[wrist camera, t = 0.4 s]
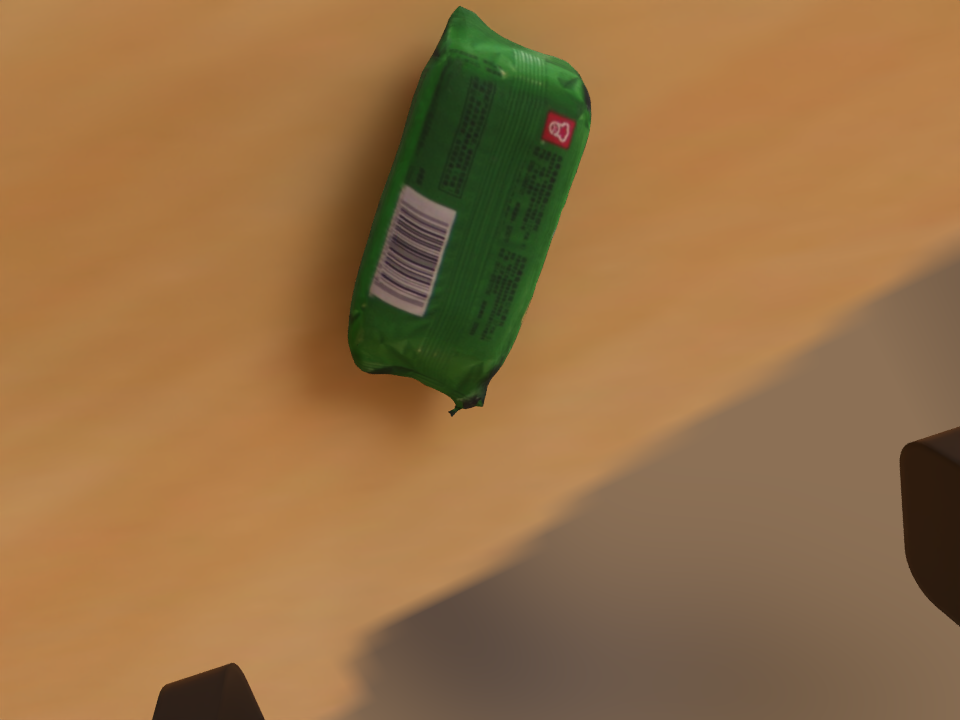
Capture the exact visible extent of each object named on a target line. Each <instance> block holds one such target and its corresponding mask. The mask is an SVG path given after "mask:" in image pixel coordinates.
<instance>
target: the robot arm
mask: <svg viewBox="0 0 960 720" xmlns="http://www.w3.org/2000/svg"><path fill="white" fill-rule="evenodd" d="M900 477H901V493H902V494H901V495H902V511H903V527H904V543H905V554H906V558H907V562H908V565H909V568H910V570H911V573H912V575H913V577H914V579H915V581H916V582H917V584H918V586H919V587H920V589H921V590H922V591H923V593H924V594H925V595H926V597H927V598H928V599H929V600H930V601H931V602H932V603H933V604H934V605H935V606H936V607H937V608H939V609H940V610H941V611H942V612H944V613H945V614H946V615H947V616H948V617H949V618H950V619H952V620H953V621H954V622H955V623H956V624H957V625H959V626H960V427H957V428H954V429H951V430H947V431H944V432H942V433H938V434H935V435H932V436H929V437H926V438H923V439H920V440H917V441H914V442H911V443H908V444H907V445H905V447H904V448H903V449H902V452H901V455H900ZM152 720H265V719H264V717H263V715H262V713H261V711H260V708H259V706H258V704H257V702H256V699H255V697H254V695H253V693H252V691H251V688H250V686H249V684H248V682H247V680H246V678H245V676H244V674H243V672H242V670H241V669H240V668H239V667H238V665H236V664H235V663H230V664H227V665H224V666H221V667H218V668H215V669H212V670H209V671H206V672H203V673H200V674H197V675H194V676H191V677H188V678H185V679H182V680H179V681H175V682H172V683H169V684H167V685H165V686H164V687H163V688H162V690H161V691H160V694H159V697H158V700H157V704H156V708H155V711H154V715H153V719H152Z"/></svg>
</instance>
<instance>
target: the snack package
mask: <svg viewBox="0 0 960 720" xmlns="http://www.w3.org/2000/svg"><path fill="white" fill-rule="evenodd" d="M590 124H591V101H590V97H589V94H588V91H587V88H586V87H585V85H584V83H583V81H582V79H581V77H580V75H579V74H578V72H577V71H576V70H575V69H574V68H573V67H572V66H571V65H570V64H569V63H567V62H566V61H564V60H561V59H559V58H556V57H554V56H550V55H546V54H542V53H539V52H536V51H534V50H531V49H528V48H525V47H523V46H521V45H518V44H516V43H514V42H512V41H509V40H507V39H505V38H503V37H502V36H500V35H499V34H497V33H496V32H494V31H493V30H491V29H490V28H489V27H488V26H487V25H486V24H485V23H484V22H483V21H482V20H481V19H480V18H479V17H478V16H477V15H476V14H475V13H473V12H472V11H470V10H468V9H465V8H463V7H461V6H459V7H458V8H457V9H456V10H455V11H454V12H453V14H452V15H451V17H450V18H449V20H448V23H447V25H446V28H445V30H444V33H443V35H442V37H441V39H440V41H439V43H438V45H437V47H436V49H435V51H434V53H433V55H432V57H431V58H430V60H429V61H428V63H427V65H426V66H425V68H424V70H423V71H422V74H421V77H420V80H419V82H418V85H417V88H416V91H415V94H414V96H413V100H412V103H411V107H410V110H409V114H408V117H407V120H406V123H405V127H404V131H403V134H402V138H401V141H400V145H399V148H398V151H397V153H396V156H395V159H394V162H393V165H392V168H391V171H390V173H389V176H388V179H387V181H386V184H385V187H384V190H383V193H382V195H381V198H380V201H379V205H378V208H377V211H376V214H375V217H374V220H373V223H372V227H371V230H370V234H369V237H368V240H367V244H366V247H365V250H364V253H363V257H362V260H361V264H360V267H359V271H358V275H357V278H356V282H355V287H354V291H353V296H352V301H351V307H350V315H349V326H348V343H349V347H350V351H351V354H352V357H353V360H354V362H355V364H356V365H357V366H358V367H359V368H360V369H361V370H362V371H364V372H367V373H369V374H392V375H398V376H404V377H410V378H414V379H416V380H418V381H420V382H421V383H423V384H424V385H426V386H429V387H432V388H434V389H436V390H438V391H440V392H442V393H444V394H446V395H447V396H449V397H450V398H451V399H452V400H453V401H454V403H455V404H456V406H455V409H453V410H451V411H449V413H450V414H451V417H452V416H453V415H454V414H455V413H456V412H457V411H458V410H460V409H462V408H463V409H468V408H472V407H474V406H480V407H483V404H484V399H485V396H486V391H487V386H488V384H489V382H490V380H491V379H492V377H493V376H494V375H495V374H496V372H497V371H498V370H499V369H500V367H501V366H502V365H503V363H504V361H505V359H506V357H507V355H508V354H509V352H510V350H511V348H512V346H513V344H514V342H515V339H516V337H517V334H518V332H519V330H520V327H521V325H522V322H523V319H524V317H525V314H526V312H527V309H528V307H529V304H530V302H531V299H532V297H533V293H534V290H535V286H536V283H537V281H538V278H539V275H540V273H541V270H542V267H543V264H544V261H545V259H546V255H547V252H548V249H549V246H550V243H551V240H552V238H553V235H554V233H555V230H556V227H557V224H558V221H559V218H560V215H561V211H562V209H563V207H564V205H565V203H566V200H567V197H568V193H569V190H570V187H571V185H572V182H573V179H574V177H575V174H576V172H577V169H578V166H579V163H580V160H581V157H582V155H583V152H584V149H585V146H586V142H587V139H588V135H589V131H590Z"/></svg>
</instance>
